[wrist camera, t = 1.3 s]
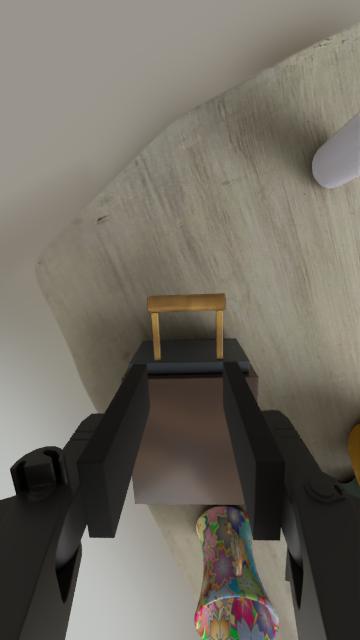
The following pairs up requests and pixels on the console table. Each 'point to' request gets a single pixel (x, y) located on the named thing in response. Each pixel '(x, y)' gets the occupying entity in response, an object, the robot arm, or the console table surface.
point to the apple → (355, 450)
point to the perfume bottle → (339, 156)
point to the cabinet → (188, 443)
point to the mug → (231, 581)
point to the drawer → (188, 353)
